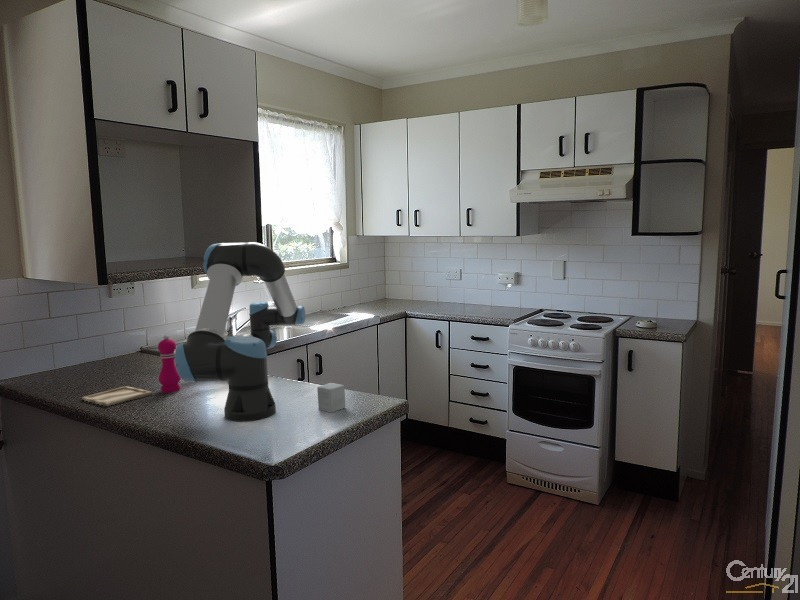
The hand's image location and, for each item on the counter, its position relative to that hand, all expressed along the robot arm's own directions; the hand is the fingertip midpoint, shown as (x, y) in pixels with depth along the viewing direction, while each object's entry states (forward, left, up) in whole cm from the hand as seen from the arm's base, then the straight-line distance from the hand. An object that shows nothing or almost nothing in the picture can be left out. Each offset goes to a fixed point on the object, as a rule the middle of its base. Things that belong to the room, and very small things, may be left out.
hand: (192, 355), depth 217 cm
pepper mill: (-3, +9, -11) cm, 15 cm away
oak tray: (-1, +26, -11) cm, 28 cm away
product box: (-59, -28, -11) cm, 67 cm away
